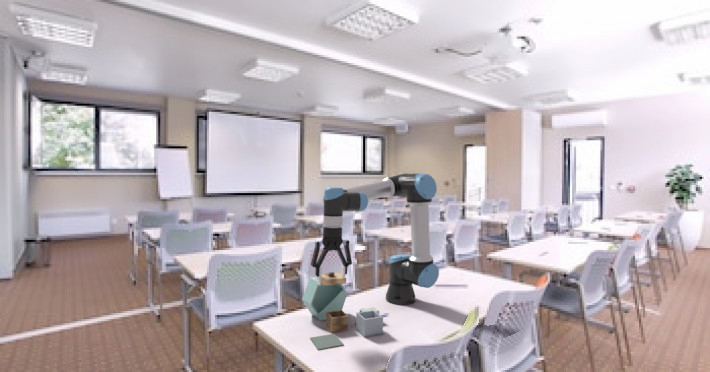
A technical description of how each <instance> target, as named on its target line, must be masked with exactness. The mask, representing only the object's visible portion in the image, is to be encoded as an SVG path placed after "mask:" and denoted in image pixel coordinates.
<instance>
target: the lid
mask: <svg viewBox="0 0 710 372" xmlns="http://www.w3.org/2000/svg"><path fill="white" fill-rule="evenodd" d="M317 280H318V277H317ZM321 284H323V285H324V286H326V285H337V284H342V285H346V284H347V278H346V276H345V277H344V276H342V275H341V272H333V271H331V272H328V273H327V272H325V273H322V280H321Z"/></svg>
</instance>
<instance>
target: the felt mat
mask: <svg viewBox="0 0 710 372" xmlns="http://www.w3.org/2000/svg"><path fill="white" fill-rule="evenodd" d="M309 340H310V341H311V342H312V344H313V345H314V347H315V348H316V349H317V350H318V351H320V350H325V349H332V348H336V347H337V348H338V347H341V346H342V347H343V346H344V343H343V342H342V341H341V340H340V338H339V337H338V336H337V335H336V334H335V333H329V334H324V335H318V336H317V335H316V336H313V337H309Z"/></svg>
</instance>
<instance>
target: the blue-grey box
mask: <svg viewBox="0 0 710 372" xmlns="http://www.w3.org/2000/svg"><path fill="white" fill-rule="evenodd" d="M355 314H356V315H355V316H356V320H355V326H356V328H355V331H357V332H358V333H359V334H360V335H361V336H362V337H363V338H369V337H374V336H381V335H384V333H383V331H384V330H383V329H384V325H383V324H384V317H383V316H382V315H381V314H380V313H379V314H378V313H377V312H376V311H374V310H371V311H365V312H360V311H359V312H356V313H355Z"/></svg>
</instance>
